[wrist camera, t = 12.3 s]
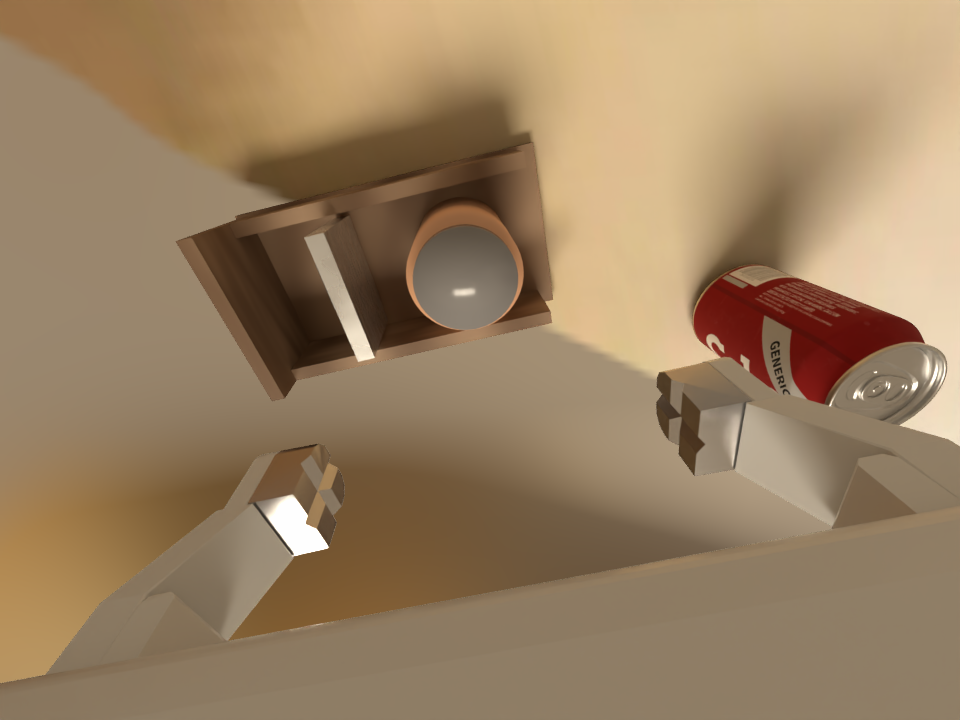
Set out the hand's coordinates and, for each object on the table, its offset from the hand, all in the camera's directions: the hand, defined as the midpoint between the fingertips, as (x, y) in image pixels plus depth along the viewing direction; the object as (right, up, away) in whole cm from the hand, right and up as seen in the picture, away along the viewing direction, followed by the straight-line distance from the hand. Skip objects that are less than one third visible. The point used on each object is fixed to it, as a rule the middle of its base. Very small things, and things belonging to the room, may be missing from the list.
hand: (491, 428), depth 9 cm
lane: (-5, +8, +17) cm, 19 cm away
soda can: (+19, +6, +20) cm, 28 cm away
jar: (-1, +9, +16) cm, 18 cm away
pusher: (-9, +7, +16) cm, 20 cm away
